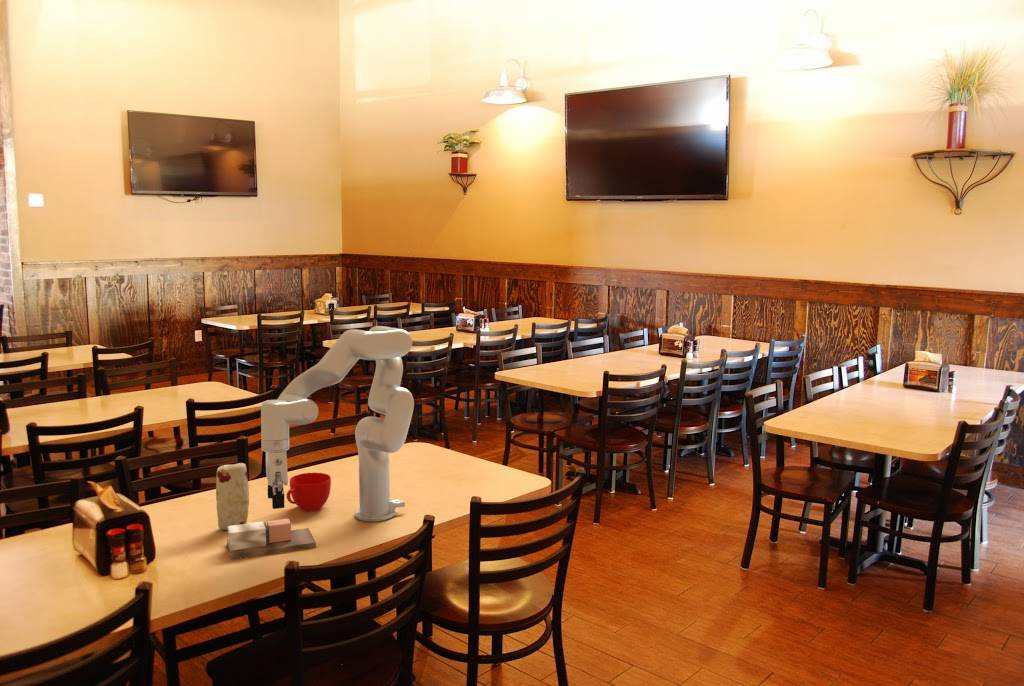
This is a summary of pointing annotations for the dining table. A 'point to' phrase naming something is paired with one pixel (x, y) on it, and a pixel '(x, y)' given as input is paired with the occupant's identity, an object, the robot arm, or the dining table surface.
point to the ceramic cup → (309, 490)
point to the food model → (232, 495)
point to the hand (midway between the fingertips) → (275, 502)
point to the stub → (279, 530)
